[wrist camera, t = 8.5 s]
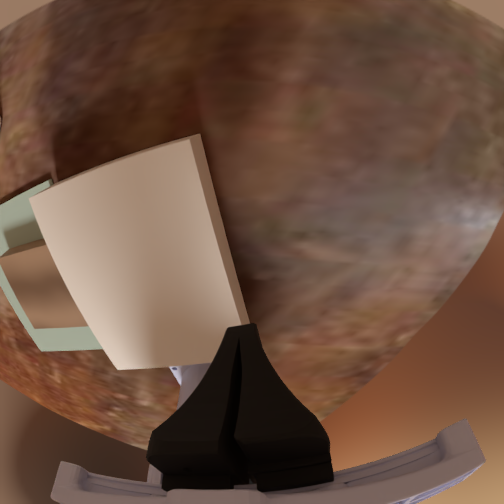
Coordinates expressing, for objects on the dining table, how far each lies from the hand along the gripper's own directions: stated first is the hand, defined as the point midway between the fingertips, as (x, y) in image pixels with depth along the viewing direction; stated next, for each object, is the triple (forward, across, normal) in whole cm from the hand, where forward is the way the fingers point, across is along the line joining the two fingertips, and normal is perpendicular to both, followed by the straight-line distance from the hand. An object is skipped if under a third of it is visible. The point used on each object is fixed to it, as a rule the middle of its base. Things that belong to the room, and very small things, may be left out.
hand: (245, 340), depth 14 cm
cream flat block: (+9, +7, -1) cm, 12 cm away
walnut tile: (+9, +18, -1) cm, 20 cm away
